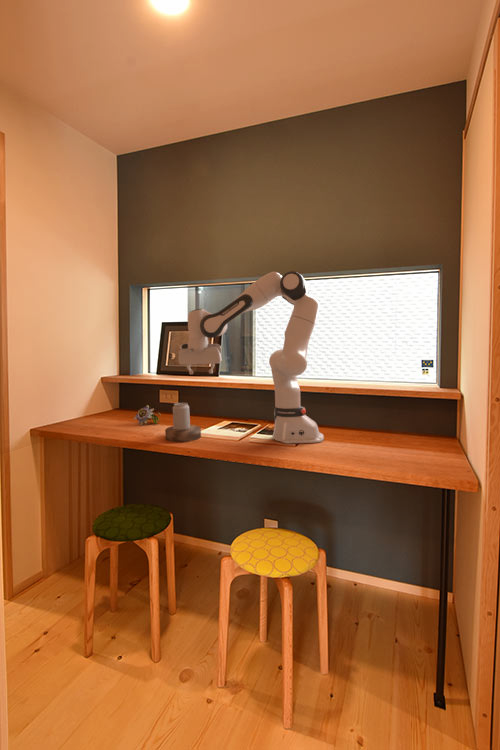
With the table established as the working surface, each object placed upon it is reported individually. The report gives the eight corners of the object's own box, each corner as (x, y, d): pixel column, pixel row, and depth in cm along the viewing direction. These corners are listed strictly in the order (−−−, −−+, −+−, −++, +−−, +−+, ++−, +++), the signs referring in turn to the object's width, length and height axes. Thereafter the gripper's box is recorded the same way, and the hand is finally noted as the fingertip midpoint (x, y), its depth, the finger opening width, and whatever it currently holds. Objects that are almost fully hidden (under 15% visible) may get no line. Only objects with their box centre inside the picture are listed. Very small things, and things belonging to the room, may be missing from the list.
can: (185, 431, 179) (184, 405, 178) (170, 431, 182) (169, 404, 180) (193, 427, 186) (191, 402, 185) (178, 427, 189) (177, 401, 187)
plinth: (205, 433, 192) (204, 424, 192) (194, 442, 176) (194, 433, 176) (173, 432, 195) (172, 424, 194) (160, 441, 179) (159, 433, 179)
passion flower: (142, 435, 213) (128, 417, 213) (153, 426, 223) (139, 409, 223) (156, 424, 209) (141, 406, 208) (166, 416, 219) (152, 399, 218)
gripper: (222, 342, 190) (224, 372, 192) (180, 345, 193) (182, 373, 195) (219, 343, 184) (221, 373, 186) (176, 345, 187) (178, 375, 189)
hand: (201, 373), depth 190 cm, fingers open, 8 cm apart
